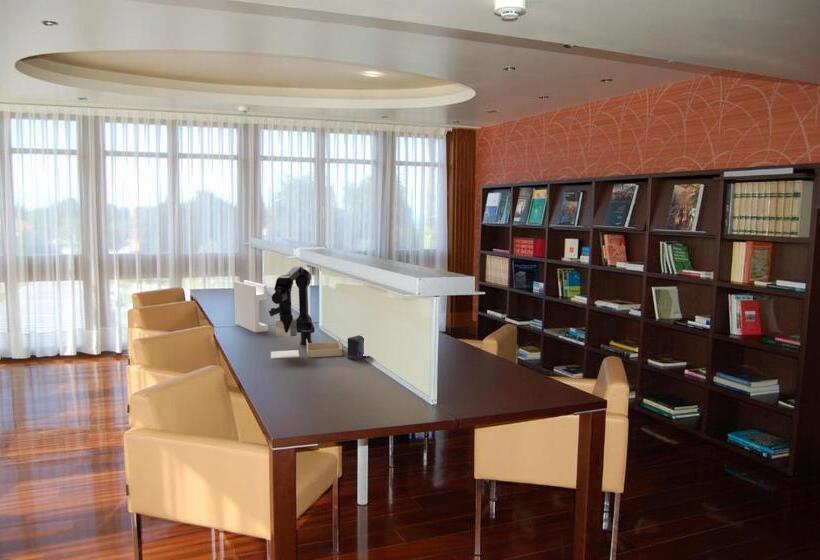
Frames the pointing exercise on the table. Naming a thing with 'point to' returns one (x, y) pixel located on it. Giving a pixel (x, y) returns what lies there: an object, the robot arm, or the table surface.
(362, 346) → the small box
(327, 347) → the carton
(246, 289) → the block
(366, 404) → the table surface
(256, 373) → the table surface
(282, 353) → the white square tile
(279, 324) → the block
